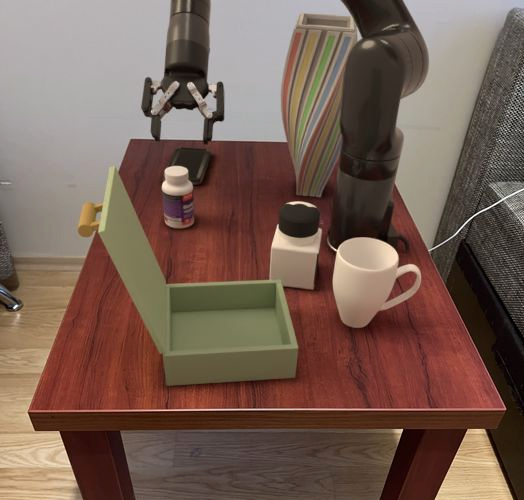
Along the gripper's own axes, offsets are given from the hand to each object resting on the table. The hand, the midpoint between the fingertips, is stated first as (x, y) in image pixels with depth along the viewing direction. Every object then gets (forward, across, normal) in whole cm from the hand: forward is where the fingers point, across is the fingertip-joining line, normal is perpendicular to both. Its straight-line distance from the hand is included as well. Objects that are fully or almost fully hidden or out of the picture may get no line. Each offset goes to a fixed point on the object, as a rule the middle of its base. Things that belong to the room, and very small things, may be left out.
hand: (181, 141), depth 94 cm
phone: (-2, -2, +20) cm, 20 cm away
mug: (+31, +32, -13) cm, 46 cm away
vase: (+2, +24, +16) cm, 28 cm away
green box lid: (+27, +2, -29) cm, 40 cm away
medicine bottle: (+23, +21, -6) cm, 32 cm away
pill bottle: (+13, 0, +5) cm, 14 cm away
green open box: (+36, +12, -18) cm, 42 cm away
